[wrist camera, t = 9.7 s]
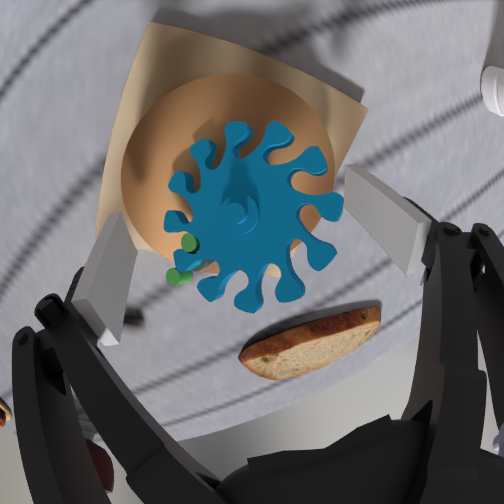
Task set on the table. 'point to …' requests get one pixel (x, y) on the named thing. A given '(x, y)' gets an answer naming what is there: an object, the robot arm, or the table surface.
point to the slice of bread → (310, 344)
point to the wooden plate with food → (4, 413)
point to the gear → (248, 216)
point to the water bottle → (493, 89)
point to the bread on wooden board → (211, 127)
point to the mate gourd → (98, 456)
